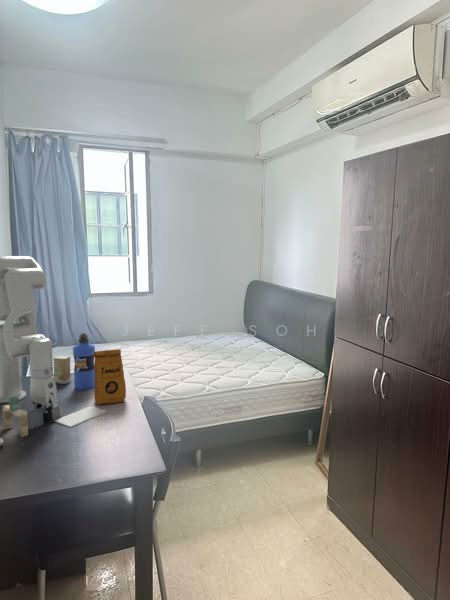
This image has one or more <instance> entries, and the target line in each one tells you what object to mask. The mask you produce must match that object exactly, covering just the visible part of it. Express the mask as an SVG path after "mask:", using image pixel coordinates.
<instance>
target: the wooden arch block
mask: <svg viewBox="0 0 450 600" xmlns="http://www.w3.org/2000/svg"><path fill="white" fill-rule="evenodd" d="M1 406H2V407H1V408H2V421H3V422H2V424H3V425H2V426H3V430H9V429H11V428H12V415H14V416H16V417H18V425H19V436H20V437H22V438H24V437H26V436H29V429H28V420H27V412H28V411H27V410H24V409H21V408H20V400H19V397H16V396H13V397H10V398H9V402H8V404H4V405H1Z"/></svg>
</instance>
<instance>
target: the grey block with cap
mask: <svg viewBox="0 0 450 600" xmlns="http://www.w3.org/2000/svg"><path fill="white" fill-rule="evenodd" d="M56 405H57V406H56V407H55V408H54V409H53V411H52V421H51V422H53V421H55V420H57V419H59V418H62V417H61V416H62V413H63V411H62V406H61V405H60V404H59V403H56ZM48 407H49V405H48V406H47V408H48ZM43 413H44V407H40V408H37V409H34V408H33V409H32V410H29V411H27V420H28V430H33V429H35V428H37V427H40V426H43V425H45V424H44V419H43Z"/></svg>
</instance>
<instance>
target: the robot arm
mask: <svg viewBox="0 0 450 600" xmlns="http://www.w3.org/2000/svg"><path fill="white" fill-rule="evenodd" d="M46 285H47V277H46V274H45V271H44V270H43V268H42V267H41V266H40V264H39V263H38V262H37V261H36V260H35V259H34V258H33V257H32V256H30V255H29V256H28V255H0V322H4V323H2V324H0V404H6V403H8V404H9V398H10V397H13V396H16V397H19V401H20V400H23V399H24V398H26V396H27V392H26V391H25V390H23V389H22V373H21V370H22V367H21V358H24V357H29V359H28V360H29V372H30V373H29V376H30V381H29V382H30V383H29V390H30V391H29V394H30V395H29V396H30V401H31V402H32V404H33V410H34V409H37V408H40V407H44V413H43V419H44V424H43V425H46V424H49V423H52V422H53V421H52V411H53V409H54V408H55V407H56V406H57V405H56V404H57V402H58V390H57V389H58V388H57V383H55V378H54V359H53V344H52V340H51V339H50V338H48V337H46V336H45V335H44V334H42V333H38V331H37V314H36V312H37V311H36V307H37V305H36V300H35V296H34V292H33V290H43V289H44V288H45V287H46ZM17 320H21V321H18V322H16V321H17ZM48 402H49V403H48ZM48 405H49V407H48V408H47V406H48Z"/></svg>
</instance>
